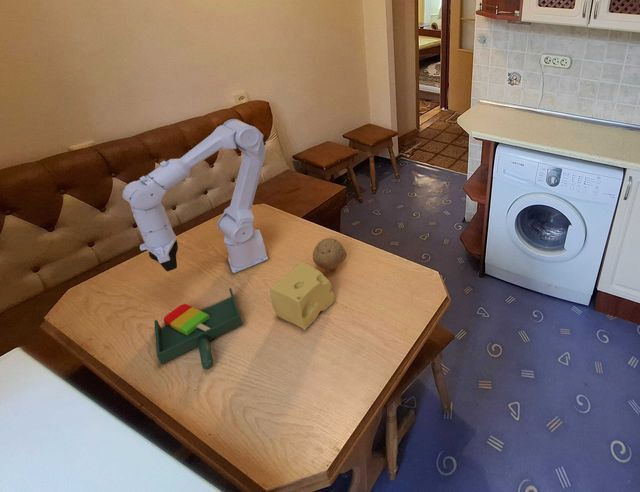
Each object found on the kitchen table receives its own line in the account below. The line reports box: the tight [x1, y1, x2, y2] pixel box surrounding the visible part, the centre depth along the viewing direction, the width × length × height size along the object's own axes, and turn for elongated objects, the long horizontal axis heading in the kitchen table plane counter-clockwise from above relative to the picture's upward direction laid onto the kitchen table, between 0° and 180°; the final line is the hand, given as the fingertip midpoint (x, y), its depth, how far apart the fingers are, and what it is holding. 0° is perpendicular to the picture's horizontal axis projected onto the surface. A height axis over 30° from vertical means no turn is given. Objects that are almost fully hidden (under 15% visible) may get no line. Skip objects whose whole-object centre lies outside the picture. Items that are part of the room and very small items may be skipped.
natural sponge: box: [312, 237, 347, 271], centre depth 106 cm, size 9×9×10 cm
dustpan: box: [154, 287, 244, 371], centre depth 84 cm, size 20×16×3 cm
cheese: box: [270, 261, 336, 331], centre depth 92 cm, size 10×11×10 cm
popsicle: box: [163, 303, 210, 335], centre depth 88 cm, size 6×15×2 cm, turn 68°
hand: (171, 268), depth 93 cm, fingers closed
